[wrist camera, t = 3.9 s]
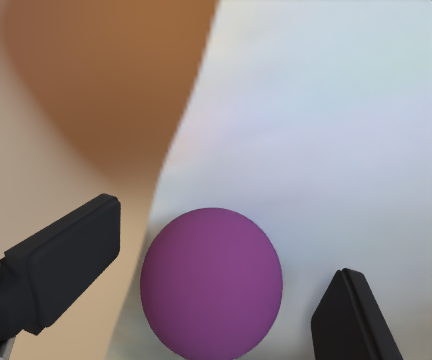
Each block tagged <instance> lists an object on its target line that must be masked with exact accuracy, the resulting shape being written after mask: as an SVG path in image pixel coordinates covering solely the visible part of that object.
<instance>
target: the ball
mask: <svg viewBox="0 0 432 360" xmlns="http://www.w3.org/2000/svg"><path fill="white" fill-rule="evenodd" d="M282 289H283V281H282V271H281V266H280V262H279V259H278V256H277V254H276V251H275V249H274V247H273V245H272V244H271V242H270V240H269V238H268V237H267V236H266V234H265V233H264V232H263V231H262V230H261V229H260V228H259V227H258V226H257V225H256V224H255V223H254V222H252V221H251V220H250V219H248V218H246V217H245V216H243V215H241V214H239V213H237V212H234V211H231V210H227V209H222V208H202V209H197V210H193V211H190V212H187V213H185V214H183V215H181V216H179V217H177V218H176V219H174V220H173V221H171V222H170V223H169V224H168V225H166V226H165V227H164V228H163V229H162V230H161V231H160V233H159V234H158V235H157V236H156V238H155V239H154V241H153V242H152V244H151V246H150V247H149V249H148V252H147V254H146V256H145V259H144V262H143V266H142V271H141V278H140V295H141V302H142V306H143V310H144V313H145V316H146V318H147V321H148V323H149V325H150V327H151V329H152V330H153V332H154V333H155V334H156V336H157V337H158V338H159V340H160V341H161V342H162V343H163V344H164V345H165V346H166V347H167V348H169V349H170V350H171V351H173V352H174V353H176V354H178V355H179V356H181V357H183V358H186V359H188V360H233V359H236V358H239V357H241V356H242V355H244V354H246V353H247V352H249V351H250V350H252V349H253V348H254V347H255V346H257V345H258V344H259V343H260V342H261V341H262V339H263V338H264V337H265V336H266V334H267V333H268V332H269V330H270V329H271V327H272V325H273V323H274V321H275V319H276V317H277V314H278V311H279V308H280V304H281V299H282Z"/></svg>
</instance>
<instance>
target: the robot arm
mask: <svg viewBox="0 0 432 360" xmlns="http://www.w3.org/2000/svg"><path fill="white" fill-rule="evenodd" d="M120 205H121V204H120V202H119V201H118V199H117V197H114V196H111V195H108V194H101V195H99V196H97V197H96V198H94V199H92V200H91V201H89V202H87V203H86V204H84V205H82V206H81V207H79V208H77V209H76V210H74V211H72V212H70V213H69V214H67V215H66V216H64V217H62V218H60V219H59V220H57V221H55V222H54V223H52V224H51V225H49V226H47V227H45V228H44V229H42V230H40V231H39V232H37V233H35V234H34V235H32V236H30V237H29V238H27V239H25V240H24V241H22V242H20V243H19V244H17V245H15V246H14V247H12V248H10V249H9V250H7V251H5V252H4V254H5V257H4V258H2V259H0V360H9V357H10V354H11V350H12V347H13V344H14V340H15V337H16V335H17V334H18V333H19V332H20V331H21V330H22V329H24V330H25V331H27V332H29V333H31V334H34V335H38V334H39V333H40V332H41V331H42V330H43V329H44V328H45V327H50V326H51V325H52V324H53V323H54V322H55V321H56V320H57V319H58V318H59V317H60V316H61V315H62V314H63V313H64V312H65V311H66V310H67V309H68V308H69V307H70V306H71V305H72V303H73V302H74V301H75V300H76V299H77V298H78V297H79V296H80V295H81V294H82V293H83V292H84V291H85V290H86V289H87V288H88V287H89V286H90V285H91V284H92V282H94V281H95V279H96V278H97V277H98V276H99V275H100V274H101V273H102V272H103V271H104V270H105V269H106V268H107V267H108V266H109V265H110V264H111V263H112V261H114V260H115V259H116V257H117V256H118V254H119V251H120V210H121V208H120V207H121V206H120ZM311 332H312V339H313V346H314V354H315V360H403V358H402V356H401V354H400V351H399V349H398V347H397V345H396V343H395V341H394V339H393V336H392V334H391V332H390V330H389V328H388V326H387V324H386V322H385V319H384V317H383V315H382V313H381V311H380V309H379V307H378V304H377V302H376V300H375V298H374V296H373V294H372V291H371V289H370V287H369V285H368V283H367V281H366V279H365V276H364V275H363V274H362V273H360V272H357V271H354V270H351V269H347V268H344V269H342V271H341V270H338V271H337V272H336V273H335V275H334V277H333V279H332V281H331V283H330V284H329V286H328V288H327V290H326V292H325V294H324V295H323V297H322V299H321V301H320V303H319V305H318V307H317V308H316V310H315V312H314V314H313V316H312V319H311Z"/></svg>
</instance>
